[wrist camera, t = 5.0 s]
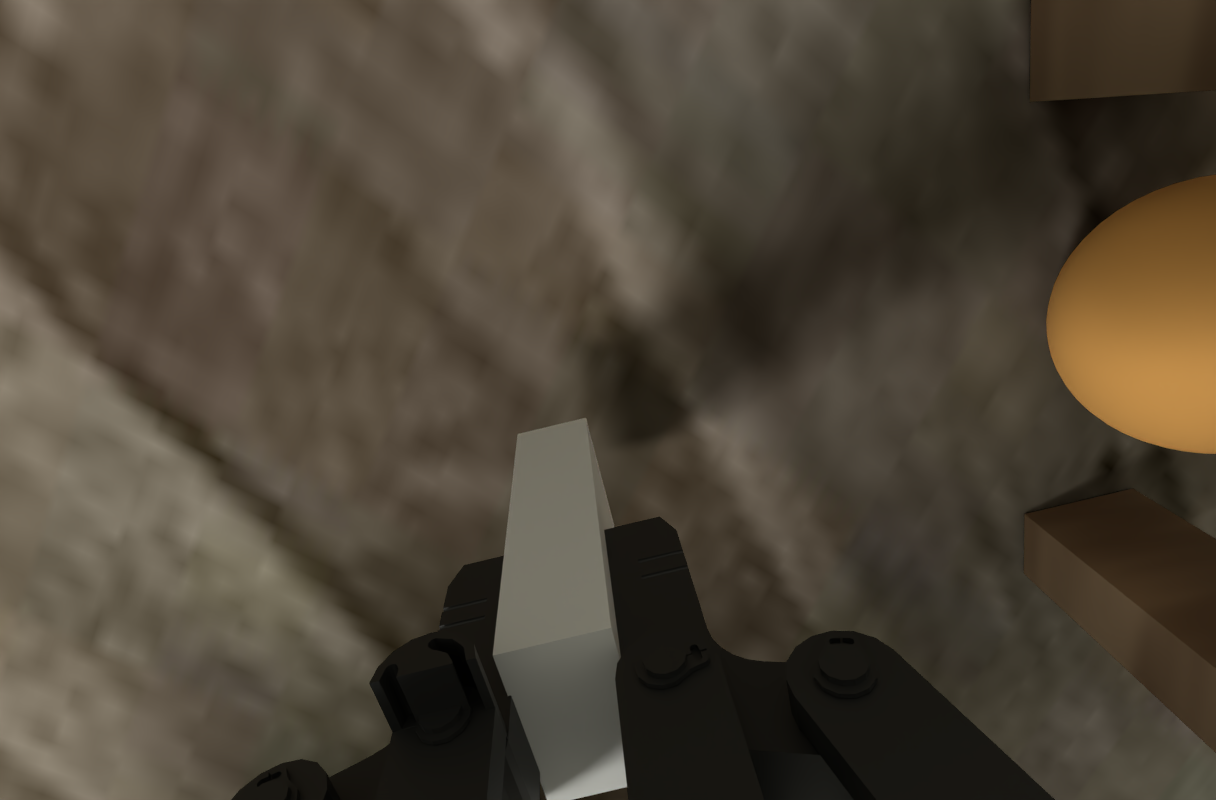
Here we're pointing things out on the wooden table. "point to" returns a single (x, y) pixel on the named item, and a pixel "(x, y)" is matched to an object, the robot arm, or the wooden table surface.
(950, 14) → the wooden table surface
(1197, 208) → the ball
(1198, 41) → the bridge
